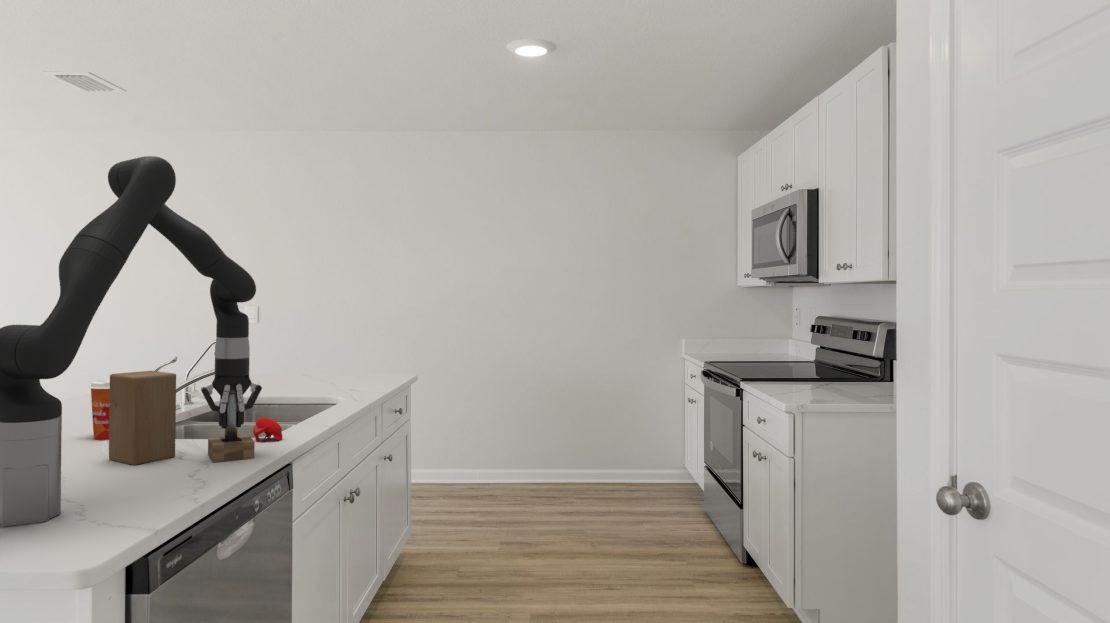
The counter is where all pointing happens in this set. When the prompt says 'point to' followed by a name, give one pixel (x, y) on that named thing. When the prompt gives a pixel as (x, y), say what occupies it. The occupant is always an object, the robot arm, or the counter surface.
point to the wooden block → (142, 416)
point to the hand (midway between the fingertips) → (231, 427)
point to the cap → (267, 428)
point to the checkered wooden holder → (231, 448)
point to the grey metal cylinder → (231, 416)
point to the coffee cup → (100, 408)
